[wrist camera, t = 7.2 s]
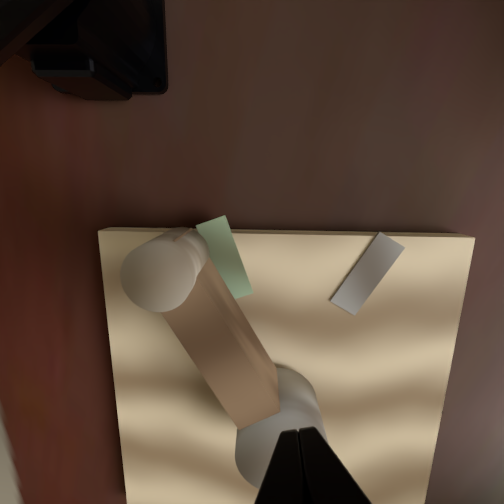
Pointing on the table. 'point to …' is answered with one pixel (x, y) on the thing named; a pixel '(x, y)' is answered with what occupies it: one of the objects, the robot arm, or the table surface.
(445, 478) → the table surface
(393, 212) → the table surface
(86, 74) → the robot arm
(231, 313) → the wooden dumbbell
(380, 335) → the striped placemat
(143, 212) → the table surface
